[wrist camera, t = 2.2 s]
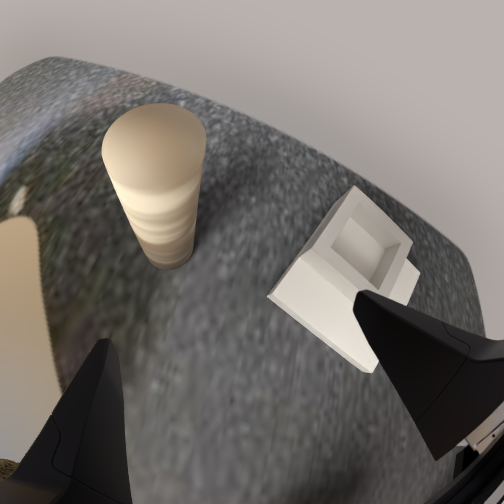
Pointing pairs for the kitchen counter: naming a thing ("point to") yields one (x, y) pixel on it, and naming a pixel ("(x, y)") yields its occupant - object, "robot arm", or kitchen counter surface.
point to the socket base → (347, 274)
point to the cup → (7, 468)
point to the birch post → (158, 177)
